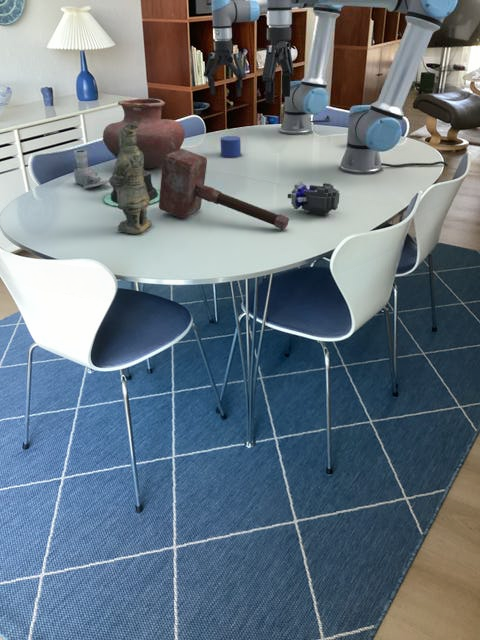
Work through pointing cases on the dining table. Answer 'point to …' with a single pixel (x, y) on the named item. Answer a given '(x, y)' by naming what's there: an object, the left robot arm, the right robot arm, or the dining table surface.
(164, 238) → the dining table surface
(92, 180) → the grey boot
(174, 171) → the sledgehammer
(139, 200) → the statue
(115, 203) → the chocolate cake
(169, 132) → the clay pot
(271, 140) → the dining table surface
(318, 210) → the toy
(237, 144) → the canister
